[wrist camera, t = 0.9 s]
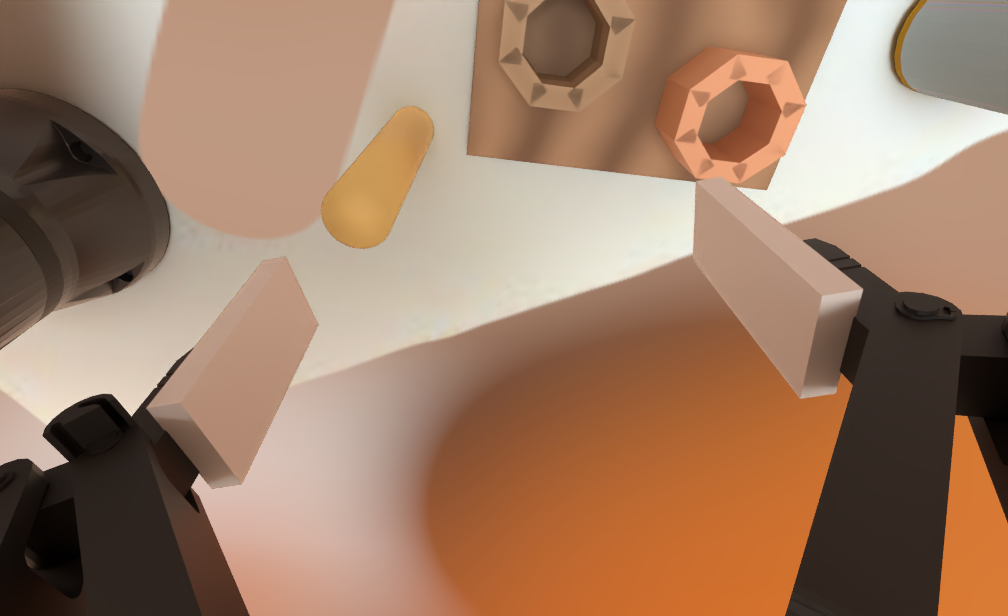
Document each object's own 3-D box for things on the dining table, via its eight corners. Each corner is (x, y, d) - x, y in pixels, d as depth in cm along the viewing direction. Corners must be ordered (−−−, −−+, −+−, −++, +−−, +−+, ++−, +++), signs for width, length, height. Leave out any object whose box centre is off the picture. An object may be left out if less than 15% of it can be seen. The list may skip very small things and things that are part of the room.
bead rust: (646, 154, 34) (664, 174, 31) (677, 42, 31) (702, 49, 27) (741, 165, 35) (771, 187, 31) (783, 56, 31) (822, 66, 27)
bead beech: (495, 88, 32) (494, 101, 28) (508, -43, 28) (510, -48, 24) (600, 101, 33) (613, 116, 29) (626, -25, 29) (646, -27, 25)
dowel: (391, 148, 35) (323, 244, 22) (390, 103, 34) (318, 179, 20) (432, 152, 35) (392, 251, 22) (434, 109, 34) (391, 187, 20)
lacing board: (467, 150, 35) (466, 154, 34) (483, -56, 29) (483, -57, 28) (759, 184, 37) (766, 190, 36) (836, -3, 30) (848, -3, 29)
